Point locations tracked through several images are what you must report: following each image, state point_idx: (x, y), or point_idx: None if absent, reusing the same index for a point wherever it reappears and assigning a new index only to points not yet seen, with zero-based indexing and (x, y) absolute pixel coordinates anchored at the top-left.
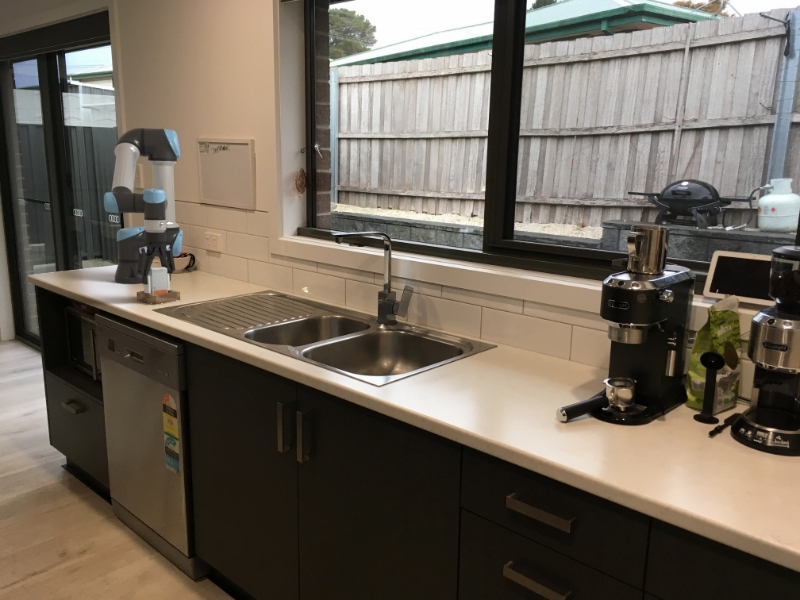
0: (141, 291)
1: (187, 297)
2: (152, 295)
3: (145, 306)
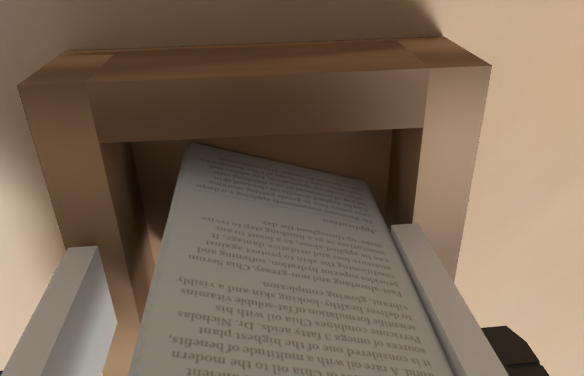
0: (104, 97)
1: (543, 265)
2: (103, 368)
3: (26, 325)
